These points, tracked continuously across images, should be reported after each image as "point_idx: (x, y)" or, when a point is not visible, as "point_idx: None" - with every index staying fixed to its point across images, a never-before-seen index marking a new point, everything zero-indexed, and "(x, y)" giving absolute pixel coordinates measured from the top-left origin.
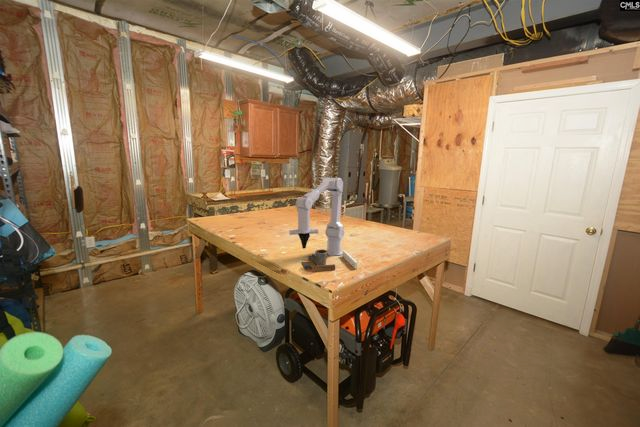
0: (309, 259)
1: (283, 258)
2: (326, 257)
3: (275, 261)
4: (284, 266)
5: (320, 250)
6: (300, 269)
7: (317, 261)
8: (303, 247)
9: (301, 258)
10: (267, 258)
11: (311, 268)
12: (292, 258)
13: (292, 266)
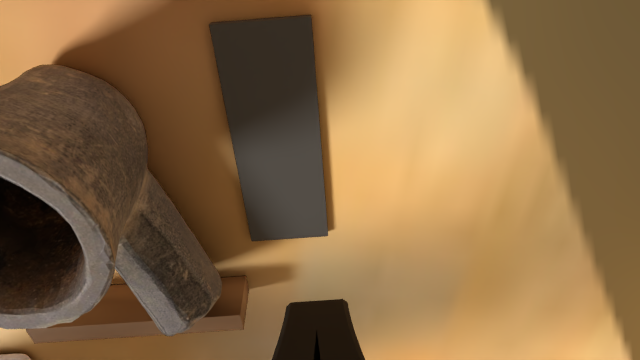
0: (237, 284)
1: (485, 340)
2: None
3: (583, 288)
4: (541, 158)
5: (18, 303)
6: (374, 35)
7: (118, 130)
8: (337, 314)
9: None
10: (624, 352)
11: (222, 28)
12: (402, 333)
13: (452, 146)
